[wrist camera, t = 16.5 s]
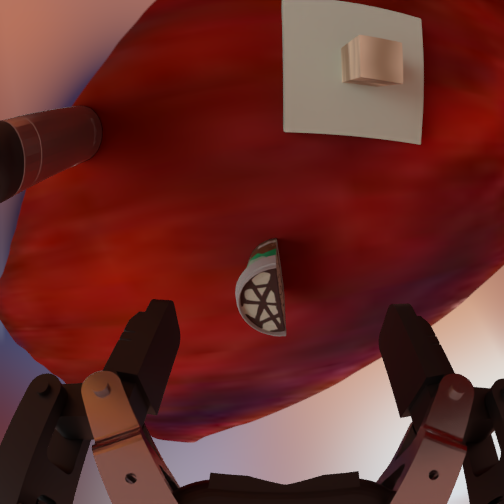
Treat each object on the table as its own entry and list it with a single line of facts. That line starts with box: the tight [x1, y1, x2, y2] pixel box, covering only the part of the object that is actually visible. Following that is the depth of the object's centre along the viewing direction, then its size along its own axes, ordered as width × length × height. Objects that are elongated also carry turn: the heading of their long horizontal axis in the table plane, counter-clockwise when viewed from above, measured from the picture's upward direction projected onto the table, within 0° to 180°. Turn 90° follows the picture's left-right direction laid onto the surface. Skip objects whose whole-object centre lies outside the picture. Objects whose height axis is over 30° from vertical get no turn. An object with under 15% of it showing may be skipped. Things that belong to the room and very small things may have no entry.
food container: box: [235, 238, 286, 336], centre depth 42 cm, size 12×6×10 cm, turn 10°
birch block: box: [341, 35, 403, 87], centre depth 25 cm, size 4×4×8 cm
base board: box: [282, 0, 424, 145], centre depth 30 cm, size 18×18×4 cm
